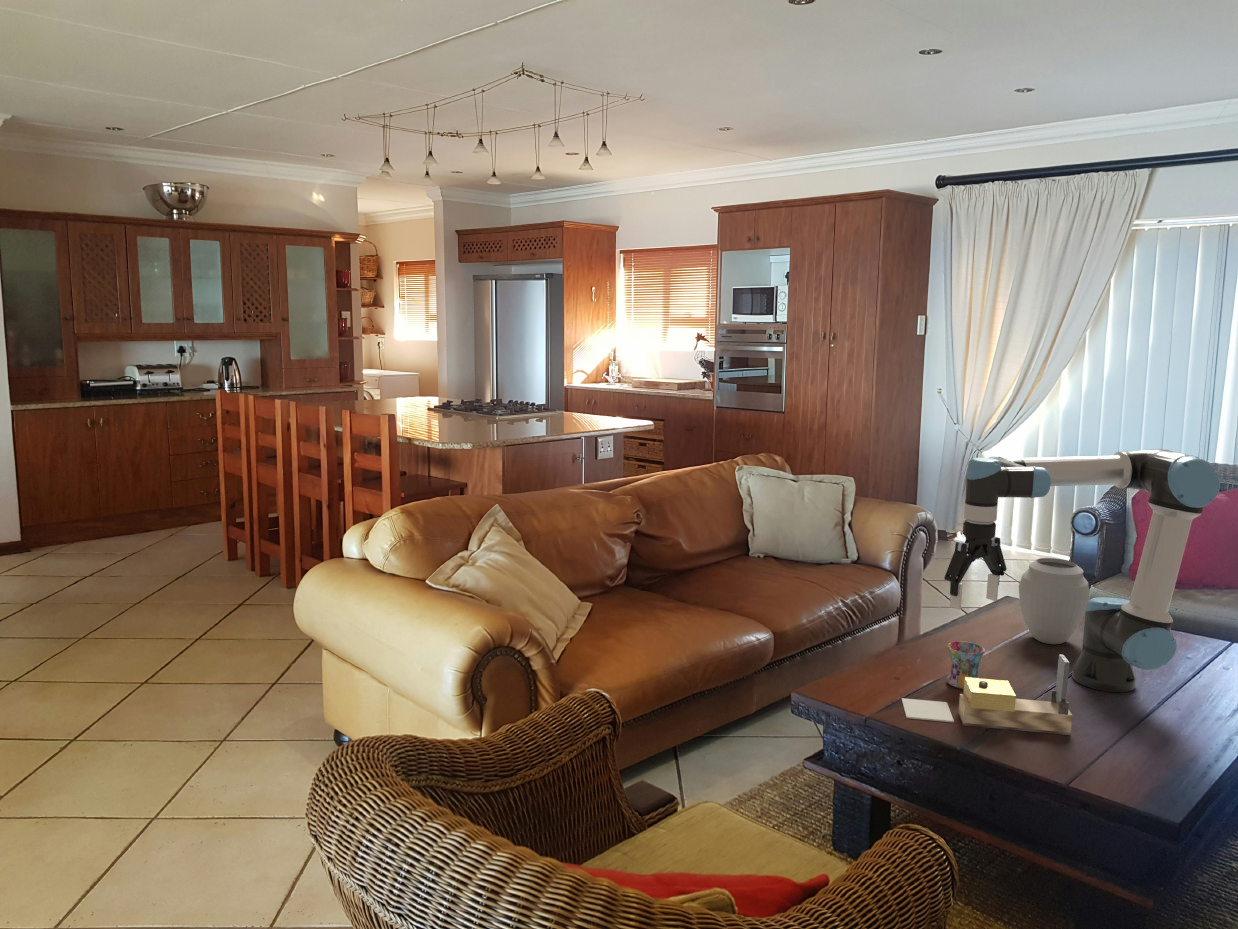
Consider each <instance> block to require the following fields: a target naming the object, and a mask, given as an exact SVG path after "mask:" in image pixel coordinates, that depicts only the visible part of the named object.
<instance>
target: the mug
mask: <svg viewBox="0 0 1238 929" xmlns="http://www.w3.org/2000/svg"><path fill="white" fill-rule="evenodd" d="M947 648H948V651H949V655H950V661H951V662H950V663H951V664H950V666H951V667H950V671H949V674H948V676H947V677H946V682H947V684H949V685H950V686H952V687H955V688H957V689H961V690H964V680H965V677H968V678H979V667H980V663H981V659H982V657H983V656H984V654H985V653H986V649H985V648H984V647H983V645H981V644H978V643H975V642H970V641H966V640H965V641H963V640H962V641H961V640H960V641H959V640H958V641H957V640H955V641H951V642H948V643H947Z"/></svg>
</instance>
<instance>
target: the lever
mask: <svg viewBox="0 0 1238 929" xmlns="http://www.w3.org/2000/svg"><path fill="white" fill-rule="evenodd" d="M1057 662H1058V663H1057V673H1056V684H1055V696H1054V699H1055V700H1056V702H1057V703H1058V705H1059V701H1063V702H1067V691H1068V681H1069V680H1068V679H1069V672H1070V671H1069V670H1070V661H1069V660H1068V659H1067V657H1066V656H1065V655H1064V654H1058V661H1057Z"/></svg>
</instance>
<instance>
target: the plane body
mask: <svg viewBox="0 0 1238 929" xmlns="http://www.w3.org/2000/svg"><path fill="white" fill-rule="evenodd" d="M1055 690H1056V689H1055ZM1055 690H1054V689H1052V690H1051V697H1050V701H1048V700H1047V701H1046V700H1038V699H1037V700H1035V699H1025V698H1016V702H1015V712H1012V711H1001V710H990V709H979V708H970V706H969V704H968V702H967V700H966V697H965V695H964V693H959V699H958V700H959V701H958V710H957V711H958V712H957V713H958V715H959V718H960V721H961V723H962V725H963V726H967V727H968V726H969V727H978V728H979V727H981V728H989V729H991V728H992V729H1001V730H1011V731H1020V732H1021V731H1023V732H1031V733H1042V734H1044V733H1045V734H1055V735H1066V736H1071V732H1072V725H1073V714H1072V712H1071V711H1070V709H1069V706H1070V702H1069V701H1066V702H1063V701H1059V705H1058V703H1057V702H1056V700H1055V699H1054V696H1055Z"/></svg>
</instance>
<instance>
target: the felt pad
mask: <svg viewBox="0 0 1238 929" xmlns="http://www.w3.org/2000/svg"><path fill="white" fill-rule="evenodd" d="M901 701H902V702H901V703H902V706H903V710H904V714H905V717H906V719H912V720H923V721H933V722H934V721H935V722H945V723H955V720H954V718H953V715H952V713H951V709H950V707H949V704H948V701H947V702H946V701H939V700H938V701H937V700H928V699H927V700H925V699H915V698H904V697H901Z"/></svg>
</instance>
